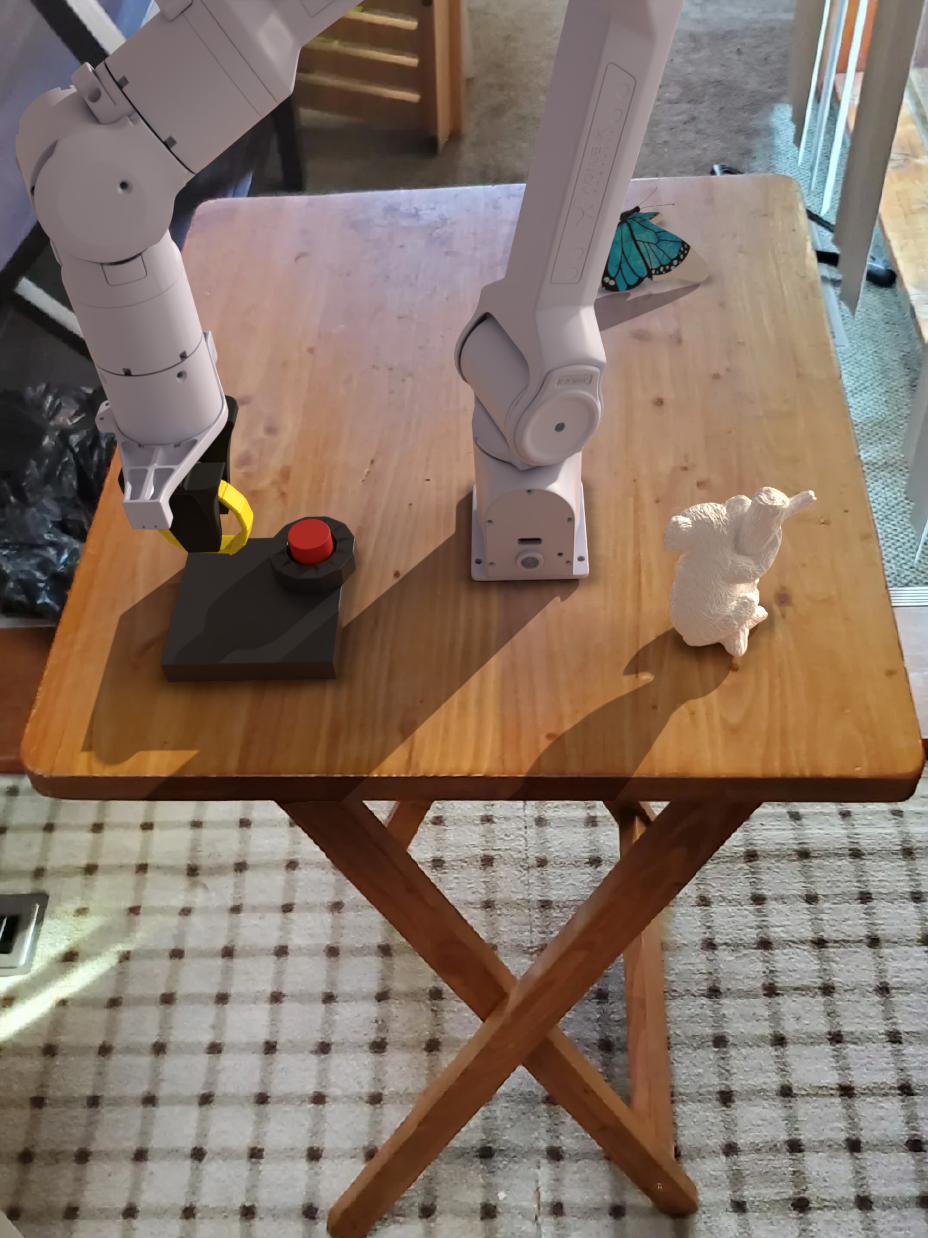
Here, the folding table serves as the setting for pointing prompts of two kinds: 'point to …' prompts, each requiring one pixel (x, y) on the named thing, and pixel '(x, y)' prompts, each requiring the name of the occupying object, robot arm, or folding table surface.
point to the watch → (241, 511)
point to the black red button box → (261, 612)
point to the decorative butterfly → (648, 254)
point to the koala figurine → (726, 564)
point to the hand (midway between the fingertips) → (208, 529)
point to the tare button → (310, 542)
